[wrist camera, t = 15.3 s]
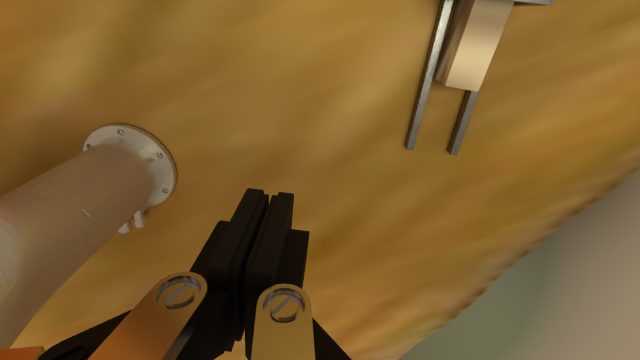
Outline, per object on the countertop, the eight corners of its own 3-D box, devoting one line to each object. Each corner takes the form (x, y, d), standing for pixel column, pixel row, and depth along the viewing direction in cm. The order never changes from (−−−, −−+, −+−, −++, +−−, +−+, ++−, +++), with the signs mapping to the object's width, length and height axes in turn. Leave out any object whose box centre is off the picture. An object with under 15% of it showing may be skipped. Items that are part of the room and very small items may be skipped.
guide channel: (453, 150, 40) (456, 155, 39) (404, 144, 40) (406, 149, 39) (501, 5, 33) (508, 5, 31) (441, -2, 33) (445, -3, 31)
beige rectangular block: (461, 82, 37) (478, 91, 32) (432, 76, 37) (445, 85, 32) (507, -41, 31) (535, -50, 27) (473, -48, 31) (495, -58, 26)
